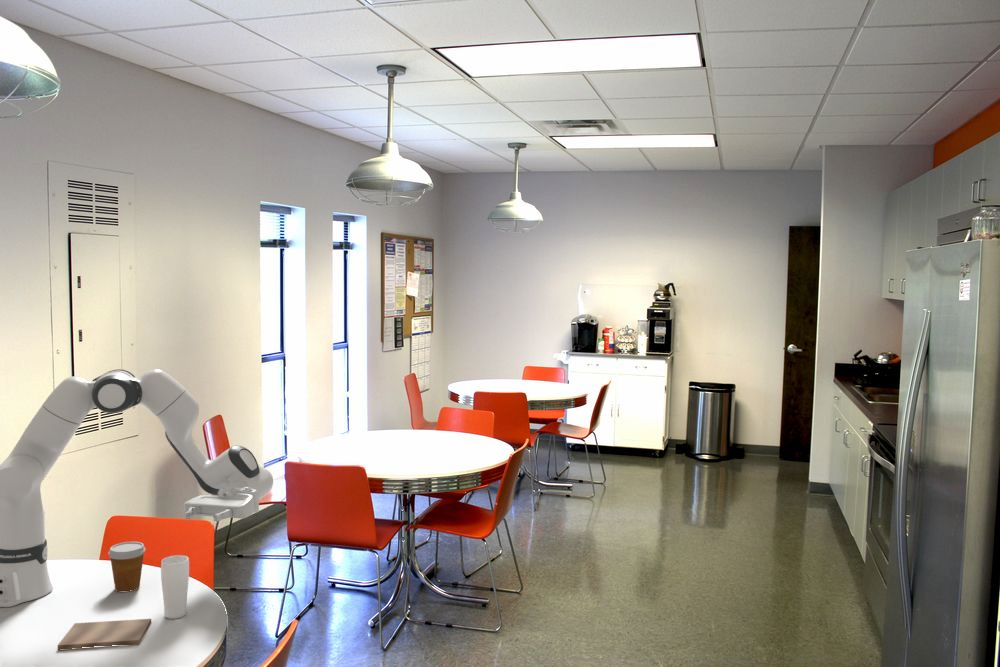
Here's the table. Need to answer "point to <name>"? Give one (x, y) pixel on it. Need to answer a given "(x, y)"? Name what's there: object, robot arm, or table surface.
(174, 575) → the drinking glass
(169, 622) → the table surface
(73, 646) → the walnut board
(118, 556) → the disposable coffee cup
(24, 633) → the table surface
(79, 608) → the table surface
